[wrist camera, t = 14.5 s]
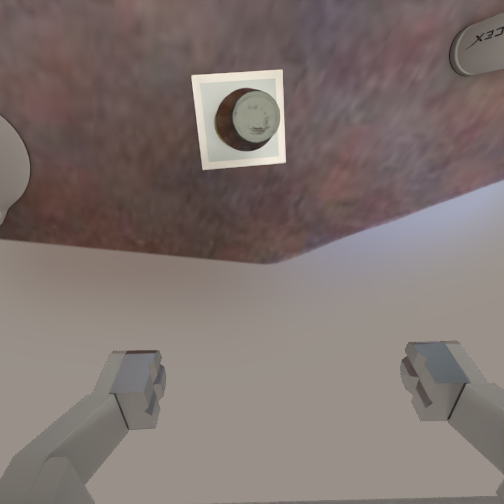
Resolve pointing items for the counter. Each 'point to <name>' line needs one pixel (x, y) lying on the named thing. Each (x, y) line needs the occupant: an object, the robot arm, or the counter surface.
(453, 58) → the travel mug
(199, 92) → the tile
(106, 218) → the counter surface
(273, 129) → the sauce bottle
